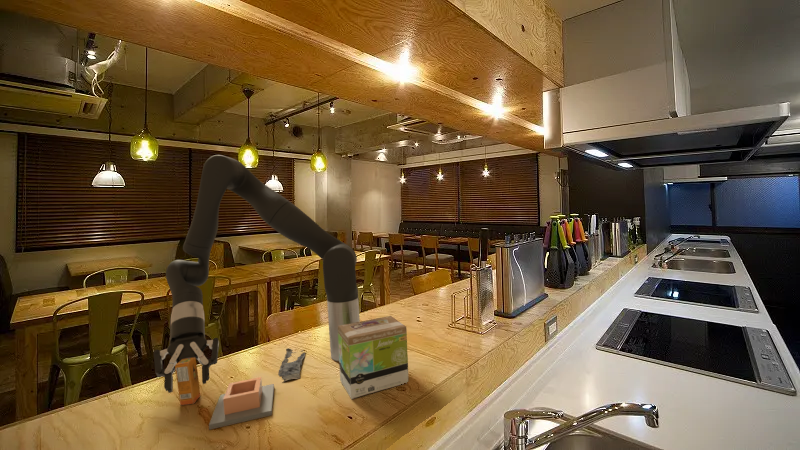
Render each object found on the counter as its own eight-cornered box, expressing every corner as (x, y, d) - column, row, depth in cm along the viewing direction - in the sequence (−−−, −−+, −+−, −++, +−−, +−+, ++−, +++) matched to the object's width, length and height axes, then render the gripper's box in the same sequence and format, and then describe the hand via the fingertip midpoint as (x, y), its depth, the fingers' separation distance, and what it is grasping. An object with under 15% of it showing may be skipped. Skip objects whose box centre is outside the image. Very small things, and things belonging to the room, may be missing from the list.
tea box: (351, 401, 75) (347, 338, 74) (339, 381, 84) (336, 324, 84) (410, 383, 82) (406, 324, 81) (393, 366, 91) (390, 313, 90)
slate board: (274, 387, 83) (273, 383, 83) (271, 415, 72) (271, 410, 72) (220, 398, 79) (220, 394, 79) (209, 429, 68) (208, 424, 68)
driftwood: (299, 382, 86) (299, 375, 86) (272, 386, 85) (271, 378, 85) (308, 350, 106) (308, 344, 106) (286, 353, 105) (286, 347, 105)
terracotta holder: (262, 391, 80) (261, 376, 80) (259, 407, 73) (258, 391, 73) (230, 397, 78) (229, 383, 77) (224, 414, 71) (223, 399, 71)
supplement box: (186, 398, 80) (182, 357, 80) (200, 396, 81) (197, 356, 80) (178, 406, 77) (174, 364, 77) (193, 404, 77) (189, 362, 77)
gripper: (151, 321, 81) (146, 390, 71) (217, 310, 88) (221, 371, 78) (157, 336, 86) (152, 402, 76) (219, 324, 93) (223, 383, 83)
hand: (187, 386), depth 77 cm, fingers open, 6 cm apart
